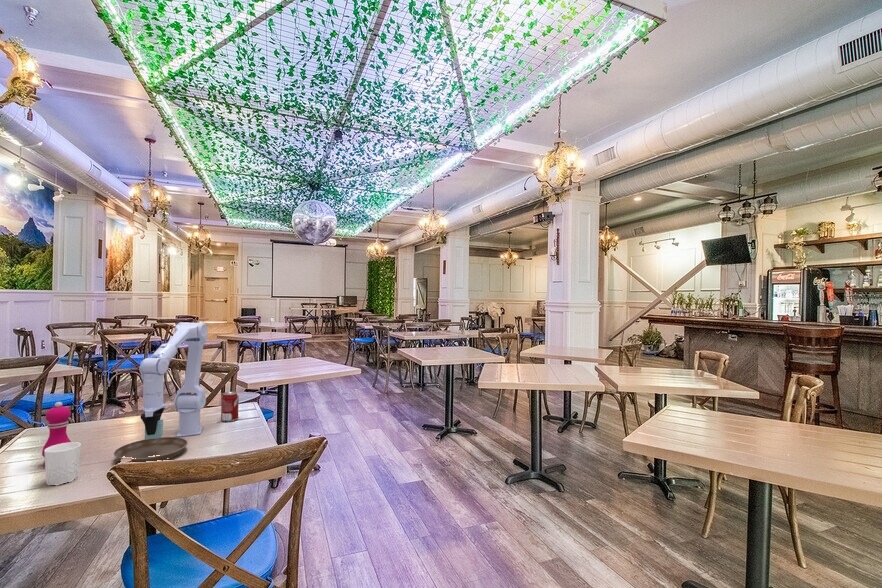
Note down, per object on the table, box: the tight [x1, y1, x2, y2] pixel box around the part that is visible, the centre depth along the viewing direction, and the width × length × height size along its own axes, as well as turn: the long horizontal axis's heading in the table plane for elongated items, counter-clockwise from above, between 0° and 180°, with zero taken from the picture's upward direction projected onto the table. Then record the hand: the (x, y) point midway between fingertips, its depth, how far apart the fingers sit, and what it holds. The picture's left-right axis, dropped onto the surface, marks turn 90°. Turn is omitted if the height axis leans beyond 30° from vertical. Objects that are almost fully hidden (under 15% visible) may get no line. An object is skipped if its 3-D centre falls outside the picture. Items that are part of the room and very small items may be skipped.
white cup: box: [44, 441, 82, 486], centre depth 120 cm, size 8×8×10 cm
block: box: [144, 419, 164, 440], centre depth 140 cm, size 4×4×5 cm
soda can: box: [220, 391, 240, 423], centre depth 180 cm, size 7×7×12 cm
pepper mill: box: [41, 401, 72, 468], centre depth 132 cm, size 7×7×20 cm
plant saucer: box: [113, 436, 188, 462], centre depth 140 cm, size 21×21×3 cm
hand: (152, 432), depth 140 cm, fingers closed on block, 4 cm apart
